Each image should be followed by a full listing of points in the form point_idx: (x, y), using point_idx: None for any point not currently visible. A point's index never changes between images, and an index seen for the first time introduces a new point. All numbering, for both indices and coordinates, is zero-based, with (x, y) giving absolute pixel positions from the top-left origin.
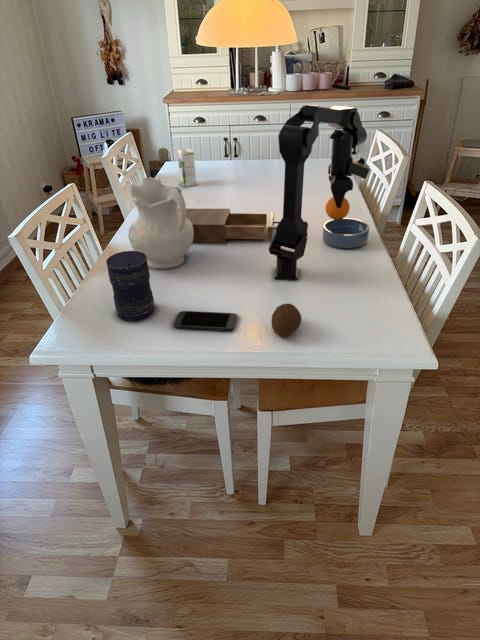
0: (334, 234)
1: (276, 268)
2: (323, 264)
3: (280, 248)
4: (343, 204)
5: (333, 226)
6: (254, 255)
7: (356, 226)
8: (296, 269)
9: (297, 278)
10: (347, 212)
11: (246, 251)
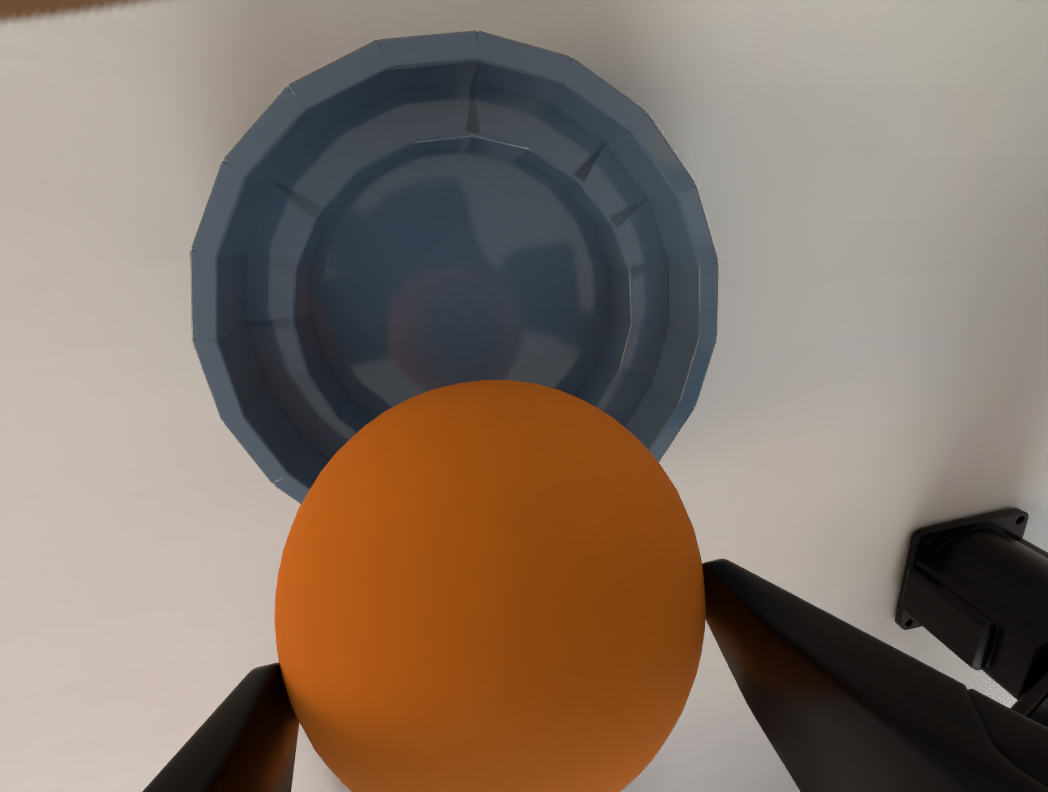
0: (677, 425)
1: (911, 625)
2: (862, 408)
3: (1042, 718)
4: (677, 552)
5: None
6: (736, 745)
7: (266, 215)
8: (1006, 543)
9: (1021, 510)
10: (575, 398)
11: (691, 787)
